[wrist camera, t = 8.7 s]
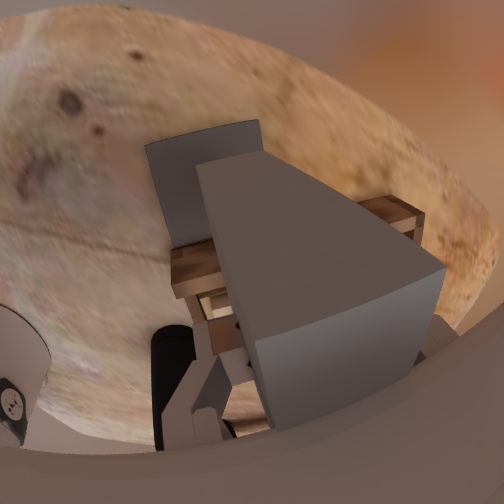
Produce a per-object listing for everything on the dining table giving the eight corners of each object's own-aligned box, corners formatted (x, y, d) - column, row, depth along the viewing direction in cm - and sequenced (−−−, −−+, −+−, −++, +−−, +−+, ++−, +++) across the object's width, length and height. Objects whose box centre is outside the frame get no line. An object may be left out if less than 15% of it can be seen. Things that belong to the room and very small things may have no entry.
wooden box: (204, 339, 34) (211, 376, 29) (170, 250, 27) (171, 285, 22) (383, 280, 37) (408, 304, 32) (391, 194, 31) (425, 213, 26)
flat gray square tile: (173, 244, 27) (174, 247, 26) (145, 145, 22) (144, 145, 21) (271, 218, 28) (273, 221, 28) (256, 119, 23) (258, 119, 23)
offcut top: (222, 339, 28) (225, 353, 27) (208, 296, 25) (212, 310, 24) (277, 324, 29) (283, 337, 28) (271, 279, 26) (278, 292, 25)
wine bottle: (143, 349, 32) (171, 592, 7) (165, 317, 31) (212, 601, 5) (186, 364, 35) (236, 583, 10) (211, 335, 34) (285, 582, 8)
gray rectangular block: (234, 319, 16) (290, 483, 8) (195, 165, 12) (254, 341, 3) (283, 304, 17) (363, 454, 8) (262, 150, 12) (447, 266, 3)
